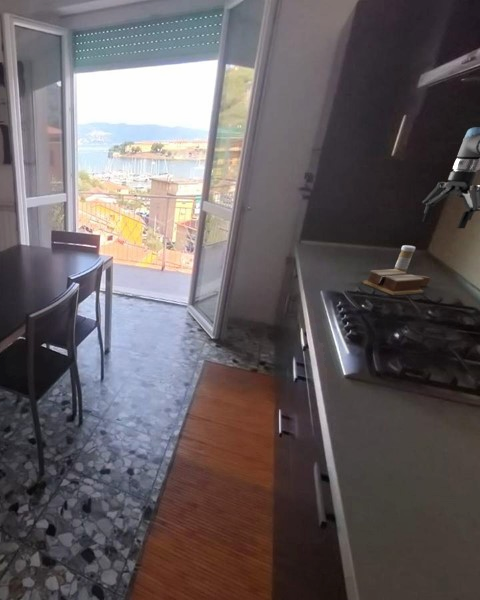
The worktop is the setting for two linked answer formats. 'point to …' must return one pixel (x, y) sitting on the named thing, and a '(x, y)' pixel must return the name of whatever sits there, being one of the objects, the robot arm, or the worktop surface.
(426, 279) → the knife
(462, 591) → the worktop surface
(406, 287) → the cake
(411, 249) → the sprinkles bottle
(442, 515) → the worktop surface
